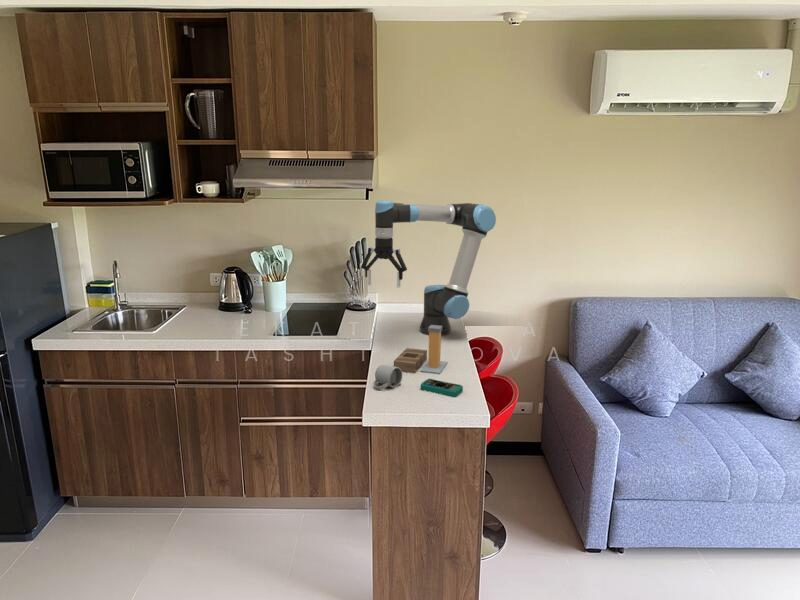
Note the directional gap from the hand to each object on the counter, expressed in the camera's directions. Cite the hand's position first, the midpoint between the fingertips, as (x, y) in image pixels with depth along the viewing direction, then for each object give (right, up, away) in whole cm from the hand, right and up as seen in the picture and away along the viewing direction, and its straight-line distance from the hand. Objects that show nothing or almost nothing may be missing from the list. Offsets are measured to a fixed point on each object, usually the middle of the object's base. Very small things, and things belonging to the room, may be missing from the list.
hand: (383, 285), depth 261 cm
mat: (+21, -34, -16) cm, 43 cm away
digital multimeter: (+22, -40, -40) cm, 61 cm away
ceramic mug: (+2, -39, -36) cm, 53 cm away
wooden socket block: (+12, -33, -13) cm, 37 cm away
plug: (+21, -33, -16) cm, 42 cm away
